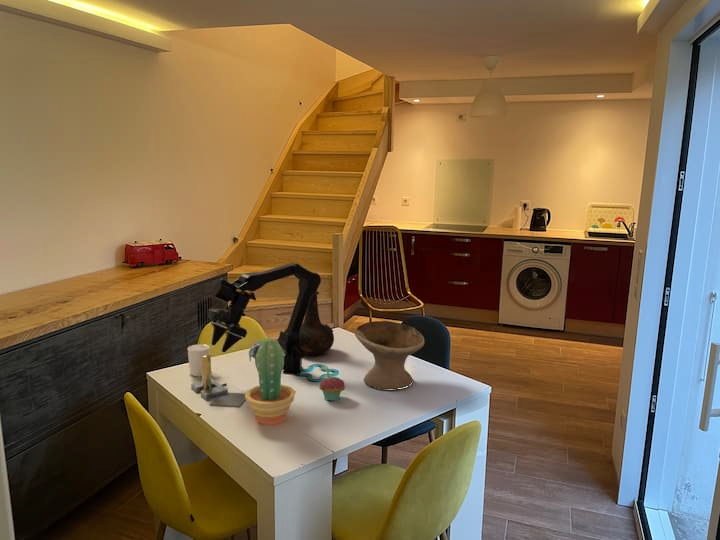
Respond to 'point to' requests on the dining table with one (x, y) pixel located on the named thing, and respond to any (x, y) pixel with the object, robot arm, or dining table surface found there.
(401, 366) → the bowl
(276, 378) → the potted cactus
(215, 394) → the vise
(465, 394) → the dining table surface
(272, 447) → the dining table surface
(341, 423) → the dining table surface
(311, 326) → the brown vase
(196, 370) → the white cup
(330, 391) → the cupcake
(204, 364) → the brass rod
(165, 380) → the dining table surface
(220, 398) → the rubber mat
